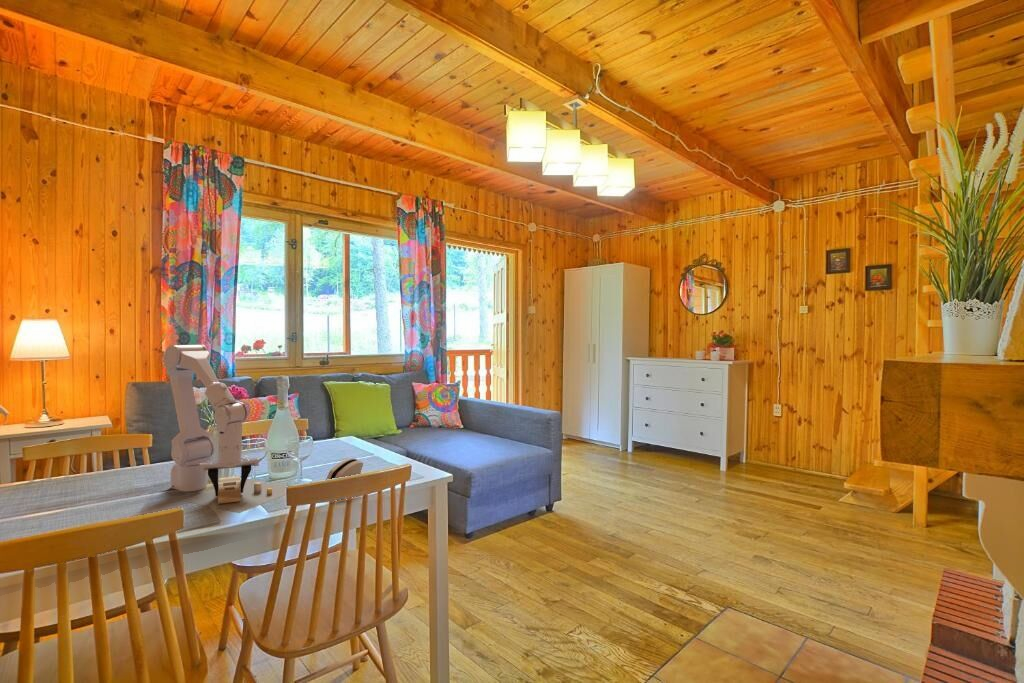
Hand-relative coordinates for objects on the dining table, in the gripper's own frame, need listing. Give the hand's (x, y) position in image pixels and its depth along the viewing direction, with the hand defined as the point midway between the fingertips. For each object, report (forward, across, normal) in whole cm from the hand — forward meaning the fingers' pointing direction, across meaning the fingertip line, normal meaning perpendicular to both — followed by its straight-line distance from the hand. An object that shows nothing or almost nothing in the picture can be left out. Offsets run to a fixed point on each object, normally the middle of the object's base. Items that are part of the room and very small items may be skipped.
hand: (229, 493), depth 141 cm
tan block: (0, 0, 0) cm, 0 cm away
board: (+2, +4, 0) cm, 4 cm away
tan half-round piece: (+3, +31, -1) cm, 31 cm away
